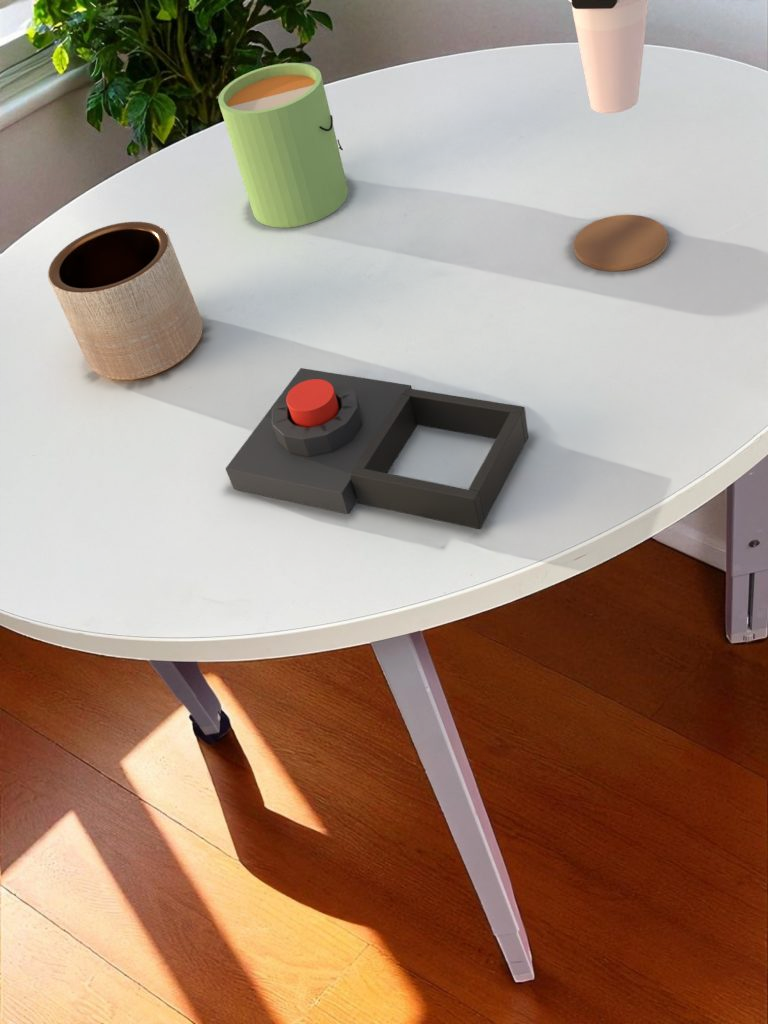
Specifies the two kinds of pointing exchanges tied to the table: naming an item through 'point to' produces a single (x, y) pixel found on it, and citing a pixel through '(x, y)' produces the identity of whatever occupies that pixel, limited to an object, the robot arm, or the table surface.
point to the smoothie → (612, 53)
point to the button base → (314, 444)
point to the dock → (434, 497)
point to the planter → (126, 300)
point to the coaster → (620, 242)
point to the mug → (285, 144)
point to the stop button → (312, 403)
